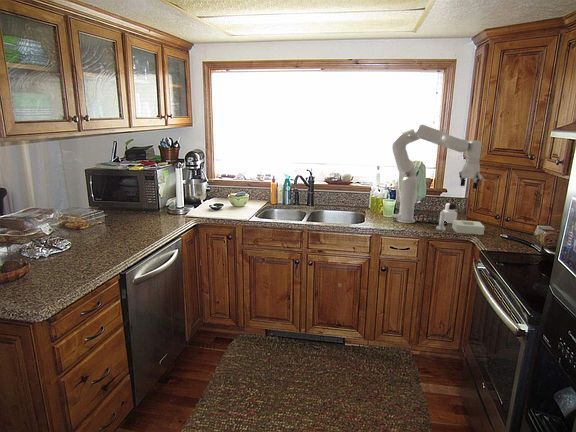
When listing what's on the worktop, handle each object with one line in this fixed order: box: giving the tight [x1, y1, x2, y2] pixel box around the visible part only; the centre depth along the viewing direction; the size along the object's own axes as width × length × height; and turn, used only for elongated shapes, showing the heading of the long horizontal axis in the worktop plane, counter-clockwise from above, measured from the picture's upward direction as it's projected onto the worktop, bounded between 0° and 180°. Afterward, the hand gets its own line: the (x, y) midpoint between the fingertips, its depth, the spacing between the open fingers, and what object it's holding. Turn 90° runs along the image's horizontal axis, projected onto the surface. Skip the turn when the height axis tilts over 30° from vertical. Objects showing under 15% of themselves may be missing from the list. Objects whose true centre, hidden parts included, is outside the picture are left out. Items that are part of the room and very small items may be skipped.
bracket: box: [436, 210, 447, 231], centre depth 255 cm, size 5×6×11 cm
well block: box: [451, 219, 486, 236], centre depth 252 cm, size 16×13×5 cm
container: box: [442, 202, 458, 224], centre depth 272 cm, size 8×8×13 cm
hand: (468, 187), depth 255 cm, fingers open, 9 cm apart
